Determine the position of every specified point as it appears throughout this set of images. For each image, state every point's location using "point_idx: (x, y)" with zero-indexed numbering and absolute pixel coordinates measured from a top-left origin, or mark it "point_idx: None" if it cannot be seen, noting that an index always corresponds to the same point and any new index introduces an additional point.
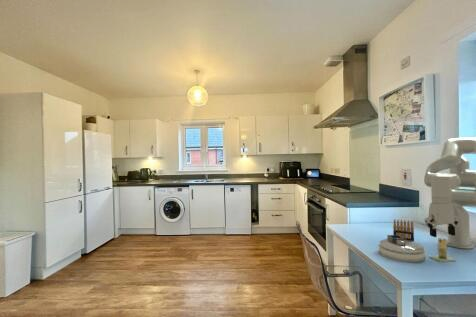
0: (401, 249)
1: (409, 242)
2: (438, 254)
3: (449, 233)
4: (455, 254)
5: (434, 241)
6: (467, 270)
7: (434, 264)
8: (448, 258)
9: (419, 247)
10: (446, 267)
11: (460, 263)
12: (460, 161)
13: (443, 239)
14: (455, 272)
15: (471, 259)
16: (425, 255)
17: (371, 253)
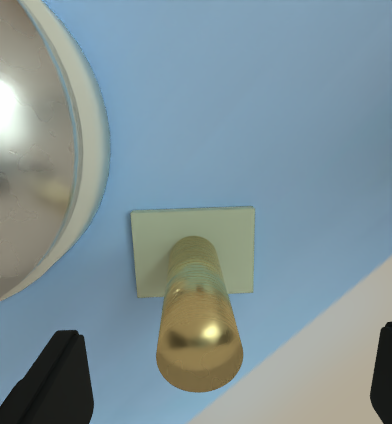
0: None
1: (2, 57)
2: (171, 255)
3: (387, 352)
4: (377, 166)
5: None
6: (194, 399)
7: (76, 319)
8: (225, 269)
9: (8, 236)
10: (114, 361)
11: (249, 315)
12: None
13: (202, 369)
14: (109, 416)
15: (383, 262)
16: (78, 236)
17: None
